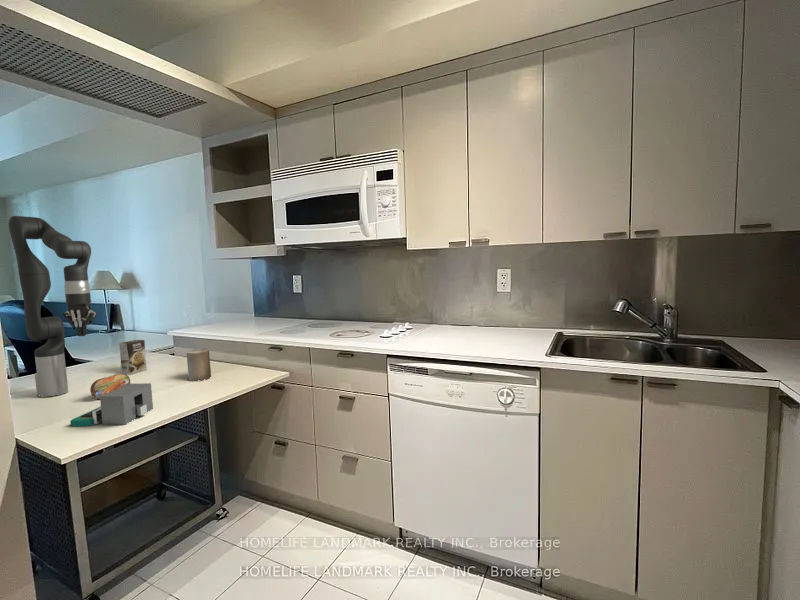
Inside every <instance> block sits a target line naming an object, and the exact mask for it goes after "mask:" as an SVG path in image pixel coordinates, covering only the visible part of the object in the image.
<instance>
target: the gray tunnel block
mask: <svg viewBox="0 0 800 600" xmlns="http://www.w3.org/2000/svg"><path fill="white" fill-rule="evenodd" d="M152 392H153V391H152V383H147V382H146V383H143V382H142V383H130V384H128V385H126V386H123V387H121V388H119V389H116V390H114V391H112V392H109V393H107V394H105V395H102V396H100V399H99V400H100V406H101V413H102V422H101V423H102V426H120V425H121V426H125V425H128V424H129V422H130V423H131V422H133V421H135V420H136V419H137V416H136V413H135V404H146V406H147V413H149V412H151V411H152V410H151V409H153V410H154V406H153V405H154V403H153V402H154V401H153V394H152ZM150 410H151V411H150ZM148 411H149V412H148ZM135 418H136V419H135ZM134 419H135V420H134ZM132 420H133V421H132ZM127 423H128V424H127Z"/></svg>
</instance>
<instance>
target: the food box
mask: <svg viewBox="0 0 800 600" xmlns="http://www.w3.org/2000/svg"><path fill="white" fill-rule="evenodd" d="M119 353H120V354H119V355H120V367H121V368H120V369H121V374H126V375H127V374H132V375H134V373H135V374H138V373H137V372H139V373H142V372H144V371H147V370H148V369H147V368H148V367H147V357H146V356H147V355H146V343H145V339H133V340H127V341H122V342H119ZM141 371H142V372H141Z"/></svg>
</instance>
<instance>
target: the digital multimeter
mask: <svg viewBox="0 0 800 600" xmlns="http://www.w3.org/2000/svg"><path fill="white" fill-rule="evenodd" d="M99 408H101V405H100V406H99V407H96V408H94V409H92V410H89V411H87V412H86V413H83V414H81V415H79V416H76V417H73V418H72V419H71V420H70V426H71V427H91V426H94V425H95V424H93V414H92V412H93V411H95V410H97V409H99Z"/></svg>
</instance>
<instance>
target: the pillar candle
mask: <svg viewBox="0 0 800 600" xmlns="http://www.w3.org/2000/svg"><path fill="white" fill-rule="evenodd" d="M185 353H186V362H187V373H188V380H189V381H190V382H199V381H198V380H201V381H205V380H204V379H206V380H209V379H211V378H212V371H211V369H212V368H211V357H210V355H211V354H210V349H209V348H205V347H204V348H203V347H202V348H194V349H193V348H192V349H190V350H187V351H186V352H185ZM210 377H211V378H210ZM208 378H209V379H208Z"/></svg>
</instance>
